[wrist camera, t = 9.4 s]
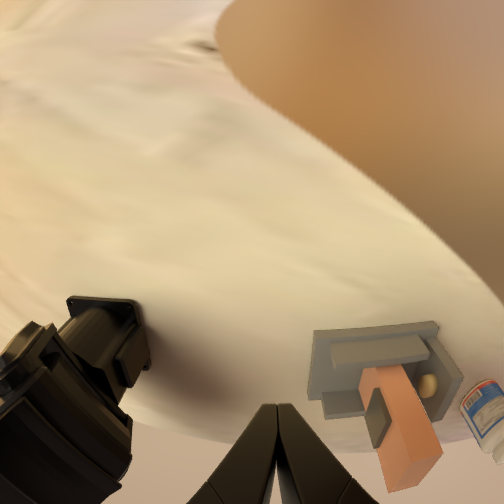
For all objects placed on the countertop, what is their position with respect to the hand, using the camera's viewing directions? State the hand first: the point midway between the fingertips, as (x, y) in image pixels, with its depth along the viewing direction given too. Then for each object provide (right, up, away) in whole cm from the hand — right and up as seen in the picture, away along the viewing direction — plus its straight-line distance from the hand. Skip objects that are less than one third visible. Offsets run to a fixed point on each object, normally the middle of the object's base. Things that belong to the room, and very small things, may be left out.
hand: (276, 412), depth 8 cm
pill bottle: (+25, -12, +16) cm, 32 cm away
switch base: (+9, -4, +14) cm, 17 cm away
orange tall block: (+8, -4, +13) cm, 16 cm away
